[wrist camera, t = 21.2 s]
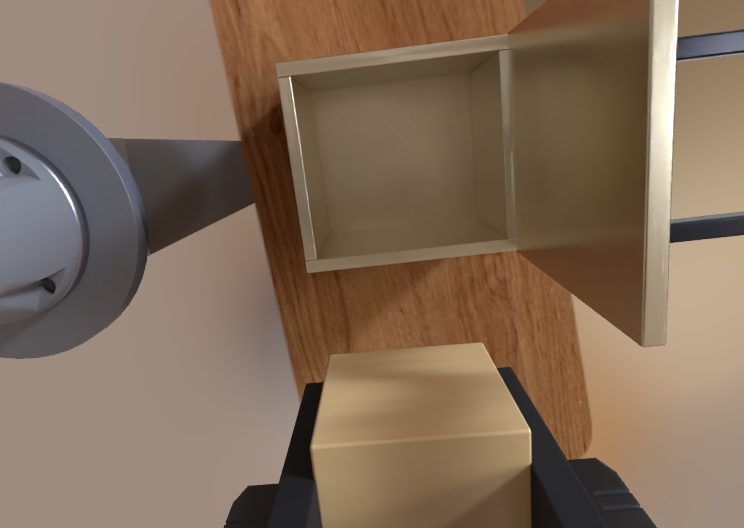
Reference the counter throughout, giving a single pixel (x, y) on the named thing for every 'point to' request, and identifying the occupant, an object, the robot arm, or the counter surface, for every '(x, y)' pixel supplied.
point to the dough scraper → (605, 152)
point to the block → (420, 442)
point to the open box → (401, 153)
